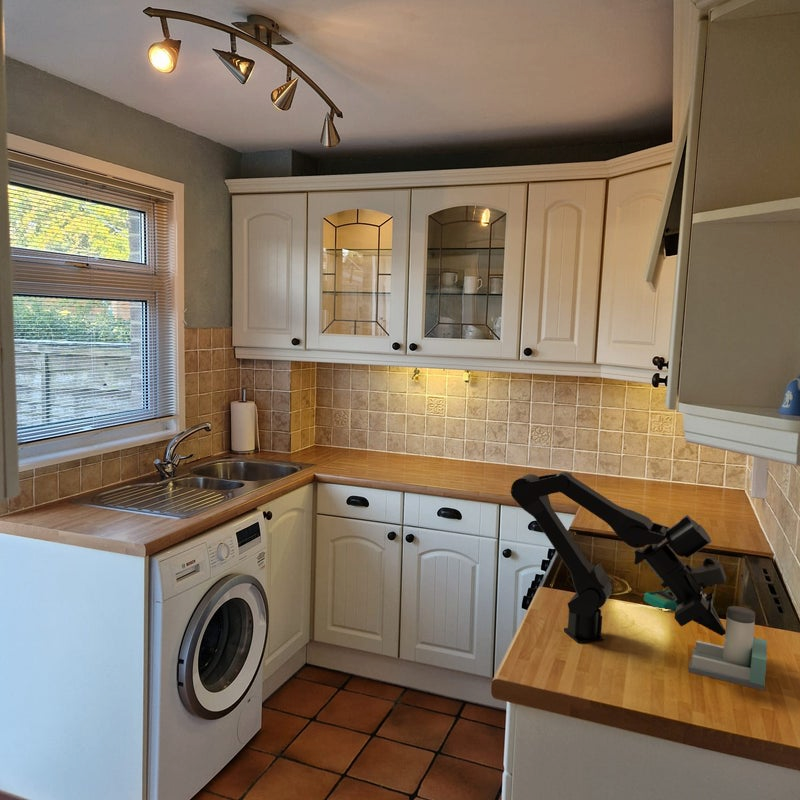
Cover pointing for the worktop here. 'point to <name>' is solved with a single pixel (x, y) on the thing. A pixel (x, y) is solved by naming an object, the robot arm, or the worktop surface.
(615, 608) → the worktop surface
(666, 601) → the digital multimeter
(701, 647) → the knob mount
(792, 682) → the worktop surface
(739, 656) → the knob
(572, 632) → the robot arm
